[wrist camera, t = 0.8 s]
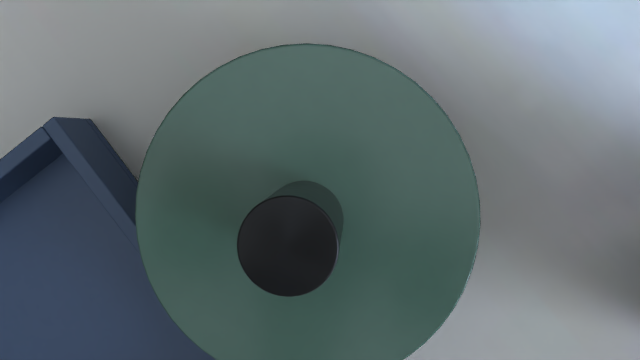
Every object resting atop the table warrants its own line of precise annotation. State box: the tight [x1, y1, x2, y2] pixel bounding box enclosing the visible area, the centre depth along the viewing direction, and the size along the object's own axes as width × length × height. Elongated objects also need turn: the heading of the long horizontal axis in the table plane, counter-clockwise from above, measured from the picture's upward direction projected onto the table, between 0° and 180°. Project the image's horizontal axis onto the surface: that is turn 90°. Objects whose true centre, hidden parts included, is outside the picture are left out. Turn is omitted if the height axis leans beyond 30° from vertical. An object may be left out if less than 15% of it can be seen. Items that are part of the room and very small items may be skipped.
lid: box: [135, 43, 480, 360], centre depth 16 cm, size 11×11×5 cm
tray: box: [0, 117, 216, 360], centre depth 24 cm, size 14×14×3 cm
